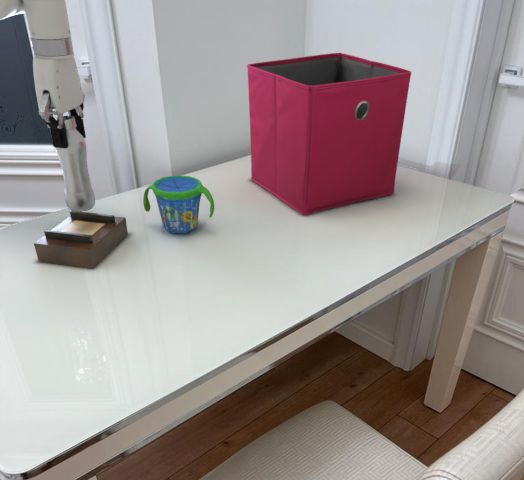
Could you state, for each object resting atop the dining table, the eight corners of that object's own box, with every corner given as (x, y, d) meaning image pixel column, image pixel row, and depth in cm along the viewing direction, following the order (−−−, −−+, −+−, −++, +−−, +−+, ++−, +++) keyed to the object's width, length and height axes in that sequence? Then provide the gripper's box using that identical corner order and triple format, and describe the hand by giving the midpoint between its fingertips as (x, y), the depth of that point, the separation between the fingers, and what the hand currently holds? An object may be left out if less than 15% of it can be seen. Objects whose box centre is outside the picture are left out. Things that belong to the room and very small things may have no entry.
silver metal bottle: (60, 210, 125) (41, 118, 113) (84, 201, 130) (68, 112, 118) (79, 217, 122) (62, 124, 110) (103, 208, 127) (88, 117, 115)
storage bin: (304, 218, 127) (310, 84, 110) (246, 180, 147) (244, 61, 130) (398, 196, 138) (417, 71, 121) (332, 163, 158) (340, 51, 141)
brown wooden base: (38, 261, 110) (31, 236, 107) (78, 228, 123) (73, 205, 119) (92, 268, 108) (87, 243, 105) (128, 234, 120) (124, 210, 117)
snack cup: (222, 223, 125) (220, 179, 119) (204, 242, 117) (201, 196, 111) (159, 214, 129) (154, 171, 123) (138, 233, 121) (132, 187, 115)
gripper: (59, 40, 114) (75, 130, 125) (8, 53, 100) (31, 152, 111) (92, 42, 113) (105, 133, 123) (45, 56, 99) (64, 156, 110)
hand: (69, 141), depth 117 cm, fingers closed on silver metal bottle, 6 cm apart
